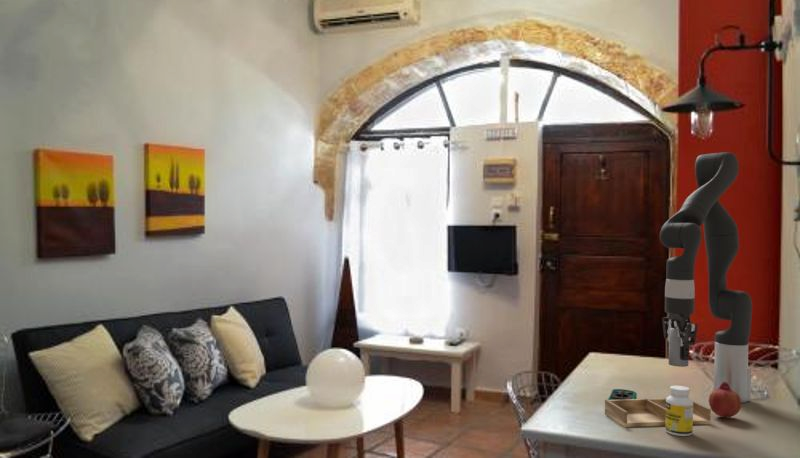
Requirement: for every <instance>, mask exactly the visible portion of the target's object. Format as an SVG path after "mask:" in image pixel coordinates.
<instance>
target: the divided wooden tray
mask: <svg viewBox="0 0 800 458" xmlns="http://www.w3.org/2000/svg"><path fill="white" fill-rule="evenodd" d="M666 398H667V397H665V398H664V397H663V398H660V397H659V398H637V399H624V400H607V399H605V400H604V415H605V416H607V417H608V418H610V419H611V420H613V421H614V422H615V423H617V424H619V425H621V426H622V427H623V428H633V427H662V426H665V420H666ZM692 401H693V425H711V419H712V418H711V415H712V414H711V412H712V409H711V408H709V407H708V406H705V405H703V404H702V403H701V404H700V403H699V402H697V401H695V400H692Z"/></svg>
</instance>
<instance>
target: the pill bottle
mask: <svg viewBox="0 0 800 458" xmlns="http://www.w3.org/2000/svg"><path fill="white" fill-rule="evenodd" d="M690 391H691V389H690V387H688V386H684V385H671V386H670V387H669V393H670V395H668V396H667V397H665V398H666V420H665V431H666V432H667V433H668V434H670V435H673V436H678V437H689V436H691V435H692V434H693V431H694V429H693V428H694V427H693V401H694V400H693V399H692V398H691V397H689V395H690V393H691V392H690Z"/></svg>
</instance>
